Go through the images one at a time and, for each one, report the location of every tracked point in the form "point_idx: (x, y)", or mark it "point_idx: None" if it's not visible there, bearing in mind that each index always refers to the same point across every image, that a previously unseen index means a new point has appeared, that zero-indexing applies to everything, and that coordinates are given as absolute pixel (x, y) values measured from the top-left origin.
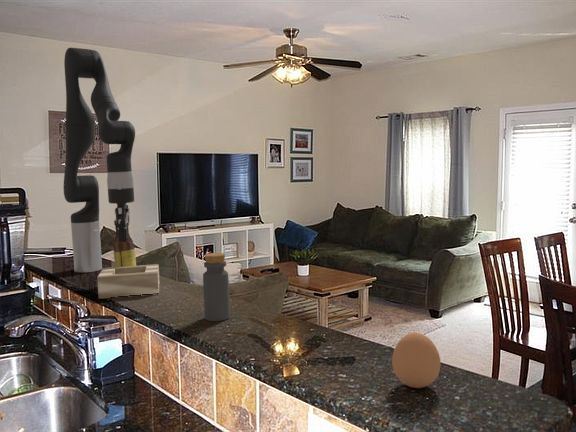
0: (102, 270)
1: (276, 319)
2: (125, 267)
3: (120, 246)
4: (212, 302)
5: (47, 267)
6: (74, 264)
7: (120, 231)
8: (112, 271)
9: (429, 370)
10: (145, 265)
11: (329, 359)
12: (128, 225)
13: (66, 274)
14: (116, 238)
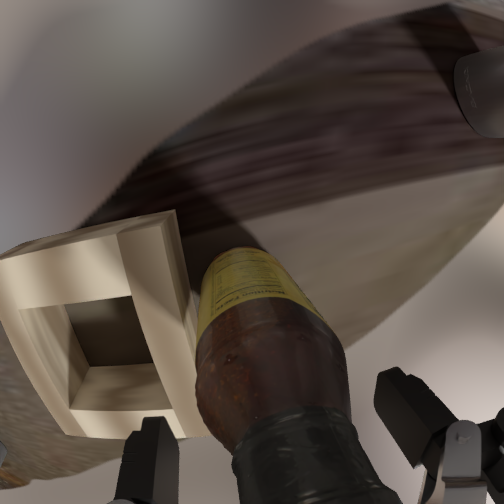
0: (88, 243)
1: (16, 477)
2: (155, 339)
3: (196, 382)
4: None
5: (496, 9)
6: (478, 52)
7: (120, 494)
8: (66, 300)
9: None
10: (195, 403)
11: None
12: (425, 471)
13: (437, 32)
14: (232, 398)
